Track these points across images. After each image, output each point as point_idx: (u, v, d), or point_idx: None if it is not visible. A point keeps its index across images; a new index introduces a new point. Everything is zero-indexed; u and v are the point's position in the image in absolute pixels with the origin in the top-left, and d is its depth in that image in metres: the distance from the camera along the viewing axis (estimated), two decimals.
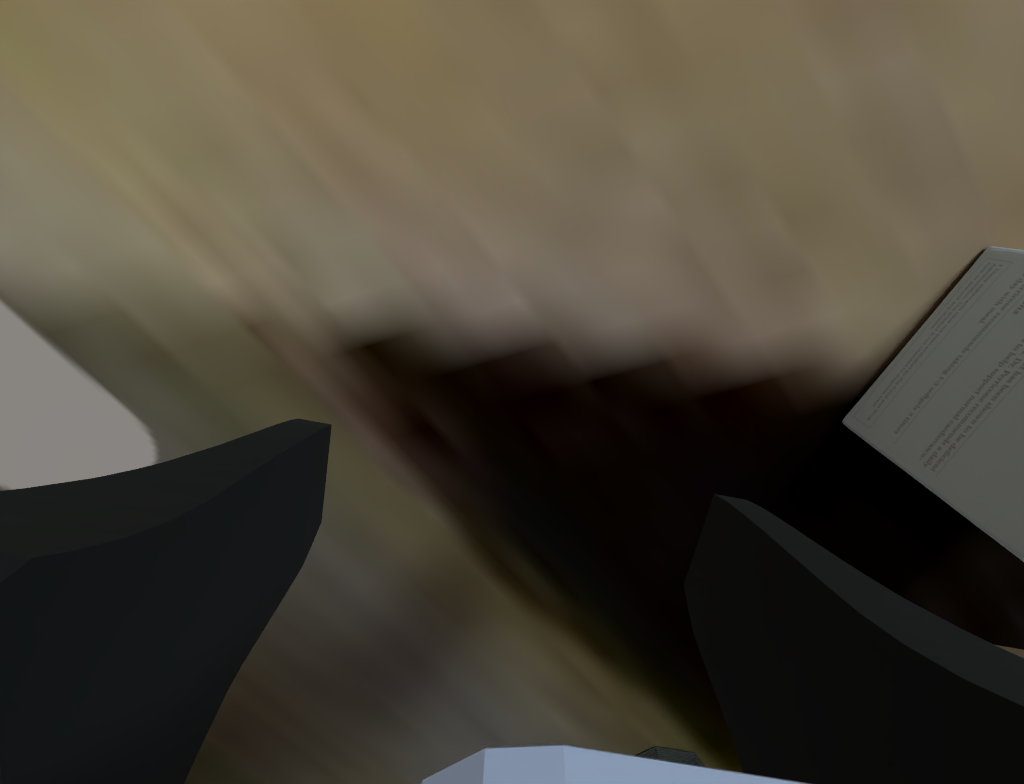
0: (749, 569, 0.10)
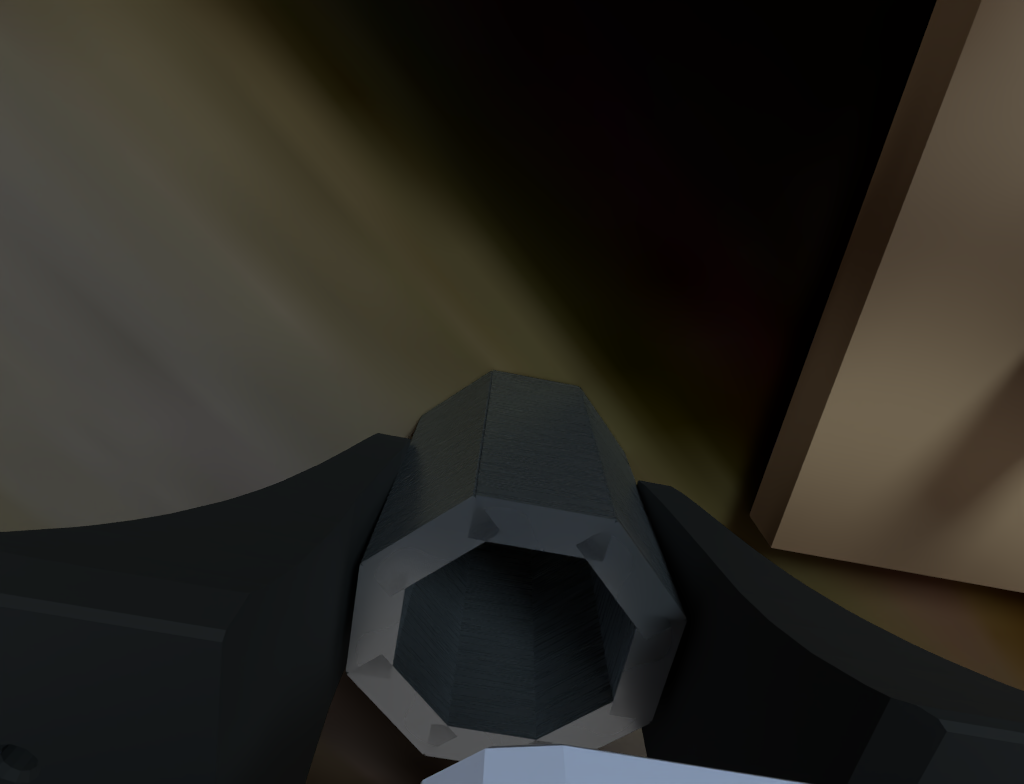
0: None
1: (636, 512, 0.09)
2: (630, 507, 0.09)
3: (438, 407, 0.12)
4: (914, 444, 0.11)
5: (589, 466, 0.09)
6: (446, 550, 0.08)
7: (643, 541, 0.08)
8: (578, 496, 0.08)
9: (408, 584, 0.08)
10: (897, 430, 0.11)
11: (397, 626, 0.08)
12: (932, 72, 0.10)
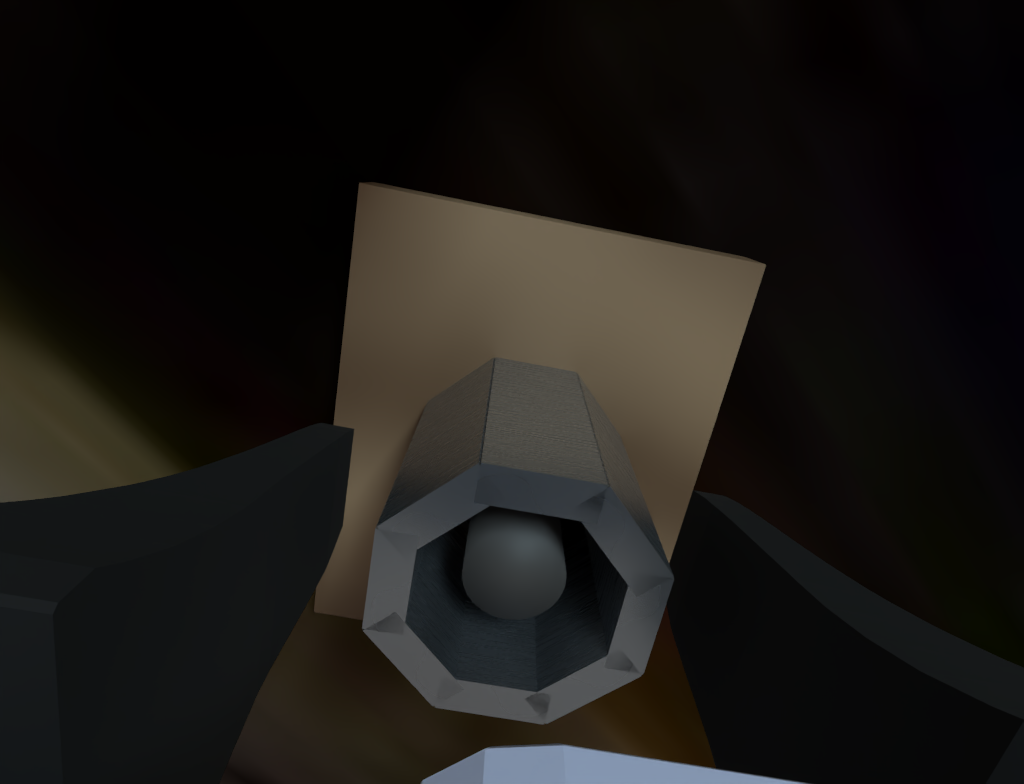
0: (724, 565, 0.10)
1: (629, 484, 0.10)
2: (623, 479, 0.10)
3: (444, 392, 0.13)
4: None
5: (585, 440, 0.10)
6: (454, 514, 0.08)
7: (634, 508, 0.09)
8: (574, 465, 0.09)
9: (419, 546, 0.09)
10: None
11: (409, 585, 0.09)
12: None
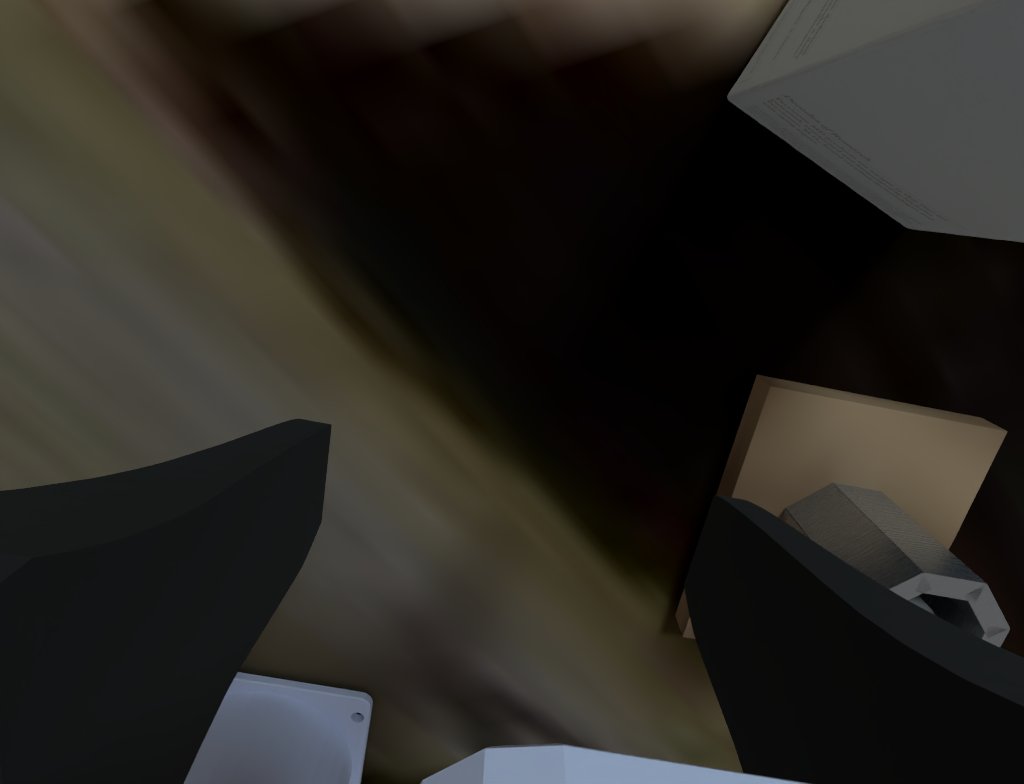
0: (749, 569, 0.10)
1: None
2: None
3: (799, 504, 0.21)
4: None
5: (945, 552, 0.18)
6: (903, 597, 0.16)
7: None
8: (960, 570, 0.17)
9: None
10: None
11: None
12: (748, 424, 0.21)
